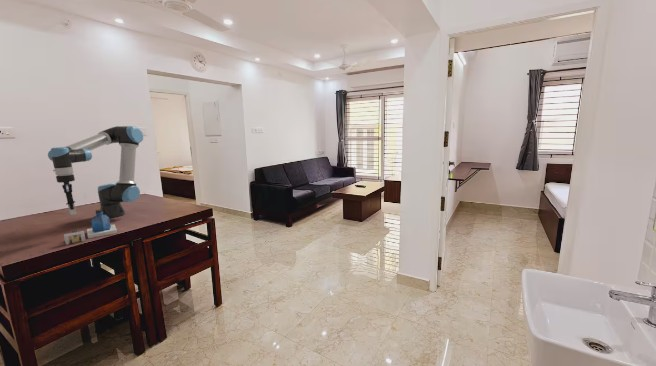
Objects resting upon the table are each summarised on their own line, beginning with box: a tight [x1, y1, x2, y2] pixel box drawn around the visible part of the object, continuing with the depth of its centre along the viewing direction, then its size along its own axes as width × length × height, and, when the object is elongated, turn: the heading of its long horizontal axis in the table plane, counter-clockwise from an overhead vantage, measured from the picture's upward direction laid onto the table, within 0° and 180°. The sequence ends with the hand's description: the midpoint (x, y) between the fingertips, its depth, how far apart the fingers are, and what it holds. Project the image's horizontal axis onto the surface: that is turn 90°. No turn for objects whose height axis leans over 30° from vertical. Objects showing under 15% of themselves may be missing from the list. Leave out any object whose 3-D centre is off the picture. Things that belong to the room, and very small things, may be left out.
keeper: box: [63, 230, 86, 246], centre depth 155 cm, size 2×8×5 cm, turn 131°
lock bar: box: [70, 229, 81, 244], centre depth 157 cm, size 8×3×5 cm, turn 41°
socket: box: [86, 223, 118, 239], centre depth 169 cm, size 14×14×2 cm
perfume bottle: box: [90, 209, 112, 231], centre depth 168 cm, size 6×6×12 cm
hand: (73, 214), depth 165 cm, fingers closed
